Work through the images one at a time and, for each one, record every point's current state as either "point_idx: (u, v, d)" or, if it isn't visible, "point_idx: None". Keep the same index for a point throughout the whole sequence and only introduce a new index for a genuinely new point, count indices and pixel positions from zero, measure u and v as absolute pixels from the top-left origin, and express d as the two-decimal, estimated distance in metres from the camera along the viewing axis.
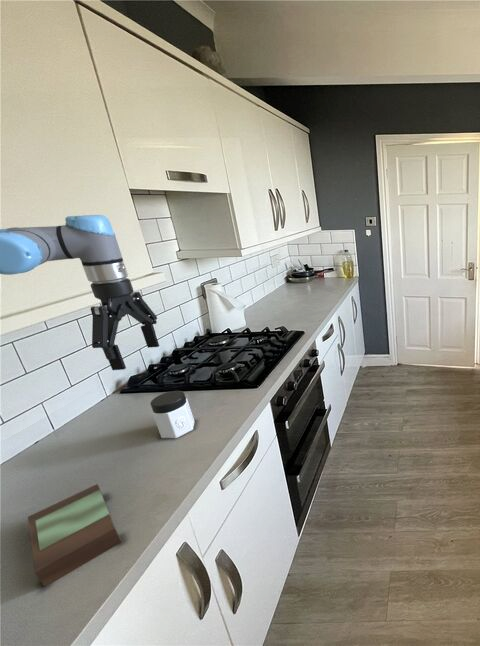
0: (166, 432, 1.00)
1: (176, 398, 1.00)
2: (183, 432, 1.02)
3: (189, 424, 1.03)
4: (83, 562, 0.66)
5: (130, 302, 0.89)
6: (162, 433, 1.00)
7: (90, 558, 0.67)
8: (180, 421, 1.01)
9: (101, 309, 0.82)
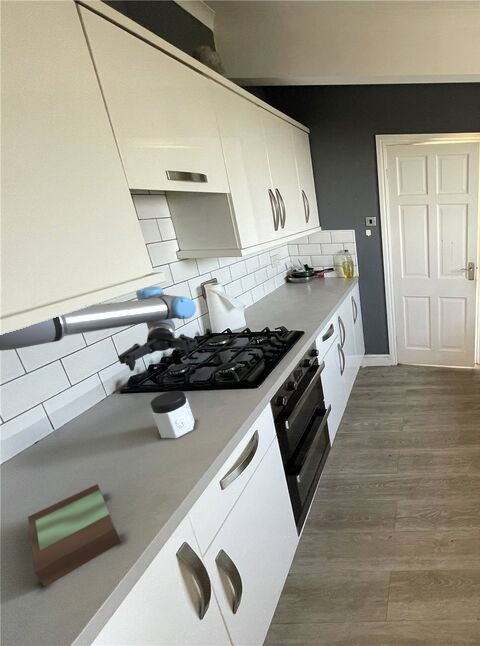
0: (166, 432, 1.00)
1: (176, 398, 1.00)
2: (183, 432, 1.02)
3: (189, 424, 1.03)
4: (83, 562, 0.66)
5: None
6: (162, 433, 1.00)
7: (90, 558, 0.67)
8: (180, 421, 1.01)
9: None
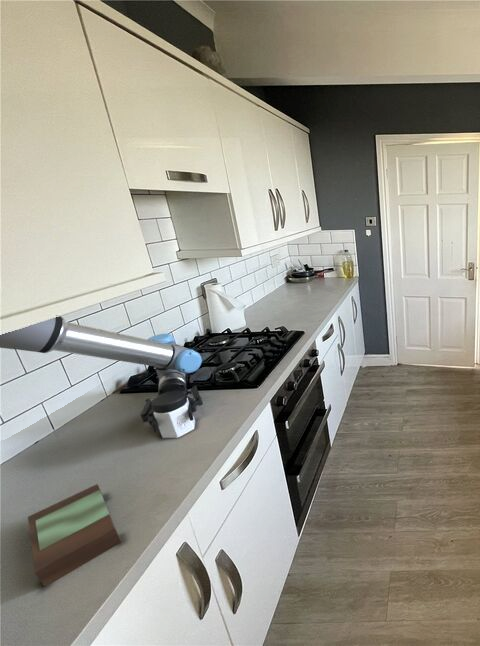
0: (167, 432, 1.00)
1: (177, 398, 1.00)
2: (184, 432, 1.02)
3: (190, 424, 1.03)
4: (83, 562, 0.66)
5: None
6: (163, 433, 1.00)
7: (90, 558, 0.67)
8: (181, 421, 1.01)
9: None
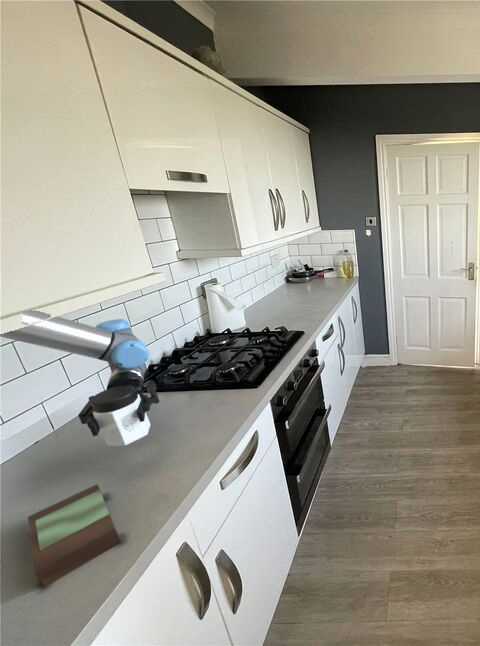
0: (111, 436, 0.82)
1: (123, 394, 0.82)
2: (133, 435, 0.84)
3: (141, 425, 0.85)
4: (83, 562, 0.66)
5: None
6: (106, 437, 0.82)
7: (90, 558, 0.67)
8: (128, 422, 0.82)
9: (156, 388, 0.97)
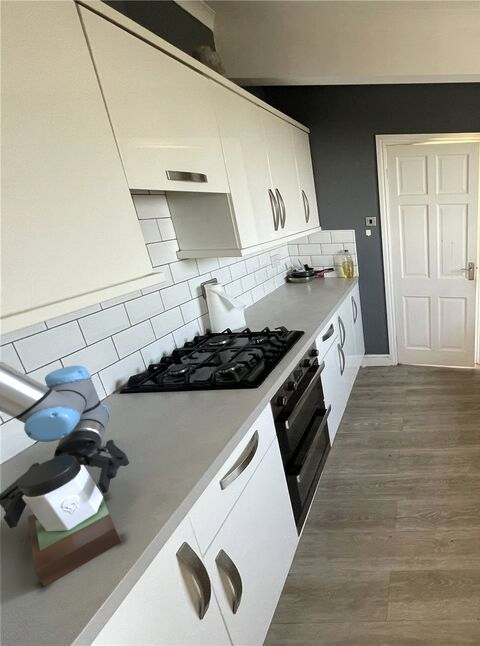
0: (49, 521, 0.67)
1: (59, 470, 0.67)
2: (78, 517, 0.69)
3: (87, 503, 0.70)
4: (83, 562, 0.66)
5: None
6: (44, 523, 0.67)
7: (90, 558, 0.67)
8: (69, 503, 0.68)
9: None
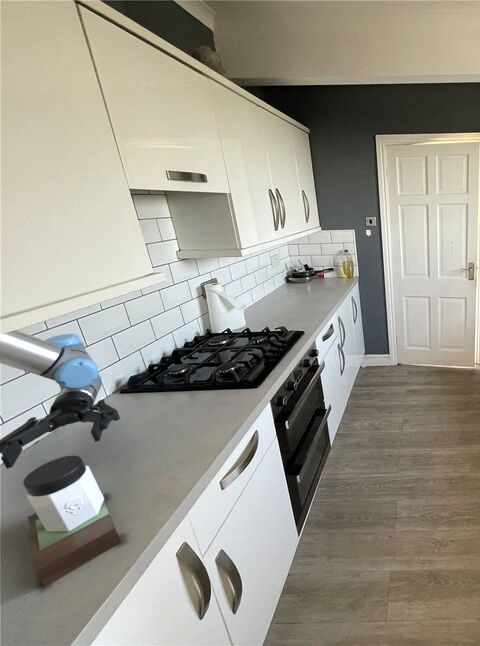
0: (51, 521, 0.67)
1: (66, 470, 0.67)
2: (80, 518, 0.69)
3: (90, 505, 0.70)
4: (83, 562, 0.66)
5: None
6: (45, 522, 0.67)
7: (90, 558, 0.67)
8: (72, 504, 0.68)
9: None
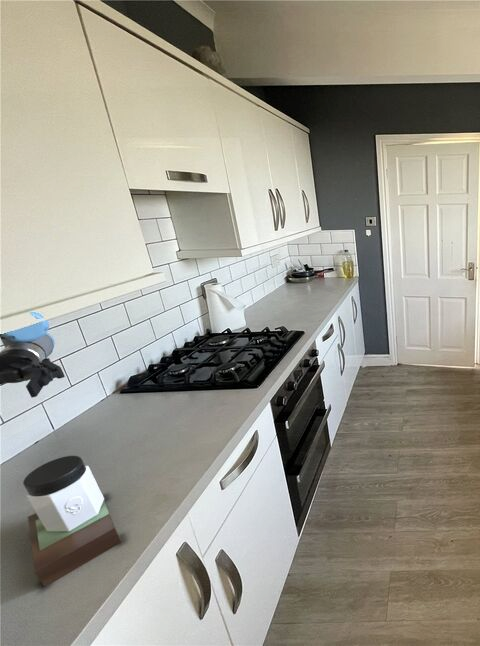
0: (51, 521, 0.67)
1: (66, 470, 0.67)
2: (80, 518, 0.69)
3: (90, 505, 0.70)
4: (83, 562, 0.66)
5: None
6: (45, 522, 0.67)
7: (90, 558, 0.67)
8: (72, 504, 0.68)
9: None
